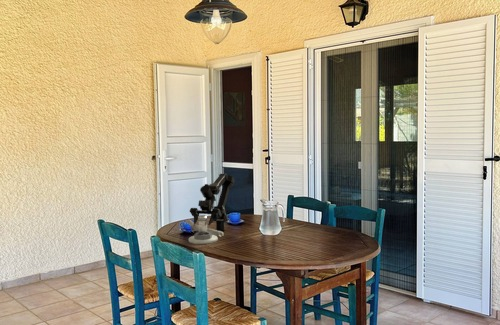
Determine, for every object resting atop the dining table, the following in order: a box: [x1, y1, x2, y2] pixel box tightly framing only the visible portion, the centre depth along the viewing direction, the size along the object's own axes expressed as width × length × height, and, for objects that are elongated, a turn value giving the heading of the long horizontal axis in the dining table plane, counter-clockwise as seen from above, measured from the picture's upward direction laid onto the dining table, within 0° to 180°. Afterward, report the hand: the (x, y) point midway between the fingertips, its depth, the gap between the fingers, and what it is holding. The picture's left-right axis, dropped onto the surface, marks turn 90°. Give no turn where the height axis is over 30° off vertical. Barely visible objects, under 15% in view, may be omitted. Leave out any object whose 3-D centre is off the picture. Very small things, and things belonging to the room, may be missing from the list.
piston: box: [197, 214, 208, 235], centre depth 271 cm, size 5×5×13 cm
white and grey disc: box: [188, 231, 219, 245], centre depth 271 cm, size 17×17×4 cm
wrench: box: [184, 219, 225, 238], centre depth 287 cm, size 8×2×30 cm
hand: (201, 224), depth 269 cm, fingers open, 9 cm apart
